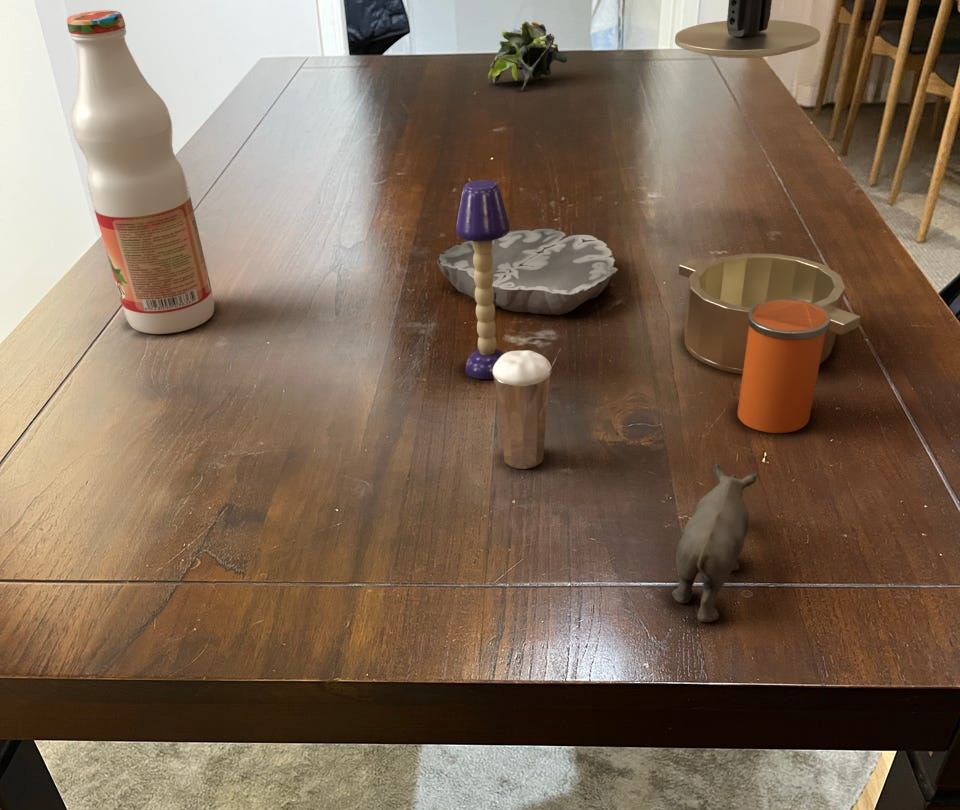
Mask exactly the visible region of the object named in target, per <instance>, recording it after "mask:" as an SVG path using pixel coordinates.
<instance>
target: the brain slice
mask: <svg viewBox="0 0 960 810" xmlns="http://www.w3.org/2000/svg"><path fill="white" fill-rule="evenodd" d="M474 253H475V251H474V249H473V245H472V241H470V240H465V241H462V242H460V243H457V244H454V245H451V246H449V247H448V248H447V249H445V250H444V252H443V253H440V254H439V255H438V256H437V257H436V263H437V266H438V267H439V269H440V272H441V274H442V275H443V276H444V277H445V278H446V279H448V281H449V282H450V283H451V285H452V286H453V287H454V288H455V289H456V290H457V291H458V292H459V293H462V294H463V295H467V296H468V297H471V298H473V299H474V300H475V289H476V285H475V281H474V273H475V270H476V269H475V267H474V264H473V256H474ZM491 253H492V256H493V265H492V268H491V269H492V272H493V277H494V278H493V284H492V287H493V290H494V300H493V304H494V307H500V308H501V309H502V310H505V311H510V312H514V313H529V314H535V315H546V316H550V315H554V316H561V315H566V314H568V313H570V312H572V311H574V310H575V309H576V308H577V307H579V306H581V305H582V304H583V303H584V302H587V301H588V300H589V299H595V298H597V297H598V296H599V295H600V294H601V293H602V292H603V291H604V290H605V288H606V287H607V285H608V283H609V282H610V280H611V278H612V277H613V276H614V275H616V273H618V268H617V267H616V266H615V265H616V257H614V256H613V250H612V249H611V248H609V247H608V244H607V243H606V242H605V241H604V240H602V239H599V238H598V237H596V236H594V235H591V234H586V233H578V234H577V233H576V234H570V235H568V236H566V233H565V231H563V230H559V229H554V228H550V227H538V228H534V229H516V230H509V232H508V234H507V235H506V236H504V237H502V238H499V239H495V240H493V245H492V249H491Z"/></svg>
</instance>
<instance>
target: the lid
mask: <svg viewBox="0 0 960 810" xmlns="http://www.w3.org/2000/svg"><path fill="white" fill-rule="evenodd" d="M761 9H762V0H752V3H751V12H750V22H749V31H748V34H747V35H745V36H742V37H738V36H732V35H729V33H728V29H727V20H721V21H712V22H707V23H701V24H696V25H692V26H689V27H686V28H684V29H681V30H679V31H678V32H677V33H676V34H675V37H674V42H675V43H674V44H675V45H676V46H677V47H679V48H681V49H684V50H686V51H689V52H694V53H699V54H703V55H705V56H712V57H717V58H729V59H753V58H754V59H755V58H767V57H775V56H780V55H783V54H788V53H790V52H796V51H800V50H805V49H807V48H811V47H812V46H815V45H816V44H817V43H818V42H819V41H820V40H821V39H820V38H821V31H820V30H819V29H818V28H816V27H814V26H812V25H808V24H806V23H801V22H796V21H795V22H794V21H788V20H779V19H778V20H777V19H769V22H768V27H767V29H766V30H764V31H761V32H759V27H760V18H761Z"/></svg>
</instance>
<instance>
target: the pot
mask: <svg viewBox="0 0 960 810" xmlns="http://www.w3.org/2000/svg"><path fill="white" fill-rule="evenodd" d="M678 275H679V276H682V277H685V278H687V279H688V288H687V289H688V290H687V299H686V300H687V301H686V310H685V319H684V320H685V321H684V346H685V348H686V350H687V351H688V353H689V354H690V355H691V356H692V357H694V359H696V360H697V361H699V362H701V363H702V364H705V365H707V366H709V367H711V368H714V369H716V370H721V371H723V372H726V373H732V374H737V375H743V368H744V360H745V353H746V346H747V339H748V331H749V324H748V313H749V311H750V309H751V308H752V307H754V306H755V305H757V304H759V303H762V302H765V301H770V300H779V299H791V300H800V301H806V302H810V303H813V304H816V305H818V306H820V307H822V308H824V309H825V310H826V311H827V312H828V313H829V314H830V317H831V321H830V326H829V328H828V330H827V331H826V333H825V339H824V344H823V349H822V354H821V360H820V365H821V364H823V363H824V362H825V361H826V360H827V359H828V358H829V356H830V355H831V353H832V349H833V347H834V345H835V341H836V337H837V334H838V335H840V336H843V335H846V334H847V333H850V332H851V331H853V330H855V329H857V328H859V326H860V321H861V315H858V314H855V313H852V312H849V311H847V310H844V309H842V306H843V300H844V296H845V292H846V286H845V284H844V281H843V278H842V276H841V275H840V274H838V272H836V271H834V270H833V269H832V268H830V267H828V266H827V265H826V264H825V265H824V264H822V263H819V262H816V261H813V260H810V259H807V258H803V257H800V256H791V255H786V254H779V253H740V254H735V255H734V254H733V255H729V256H728V255H727V256H723V257H717V258H716V259H713V260H711V261H704V260H702V259H698V258H693V259H691V260H688V261H686V262H683V263H680V264H679V266H678Z"/></svg>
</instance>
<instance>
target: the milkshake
mask: <svg viewBox="0 0 960 810" xmlns="http://www.w3.org/2000/svg"><path fill="white" fill-rule="evenodd" d="M561 350H562V348H559V351H558V352H557V354H556V357H555V358H554V360H553V363H552V365H551V363H550V361H549V360H548V359H547V358H546V357H545V356H544V355H542V354H540V353H538V352H535V351H533V350H527V349H525V350H510V351H506V352H505V353H504V354H503V355H502V356H501V357H500V358H499V359H498V360H497V362H496V363H495V365H494V366H493V384H494V391H495V397H496V403H497V409H498V416H499V423H500V432H501V433H500V434H501V441H502V449H503V459H504V463H505V464H507V465H508V466H510V467H511V468H512V469H513V468H514V469H520V470H526V469H532V468H536V467H537V466H538V465H540V464H541V463H542V462H543V461H544V454H545V452H544V451H545V440H546V439H545V438H546V427H547V426H546V424H547V415H548V413H547V412H548V402H549V394H550V386H551V378H552V377H551V376H552V369H553V367H554V365H555V363H556V361H557V358H558V356H559V354H560V353H561Z"/></svg>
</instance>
